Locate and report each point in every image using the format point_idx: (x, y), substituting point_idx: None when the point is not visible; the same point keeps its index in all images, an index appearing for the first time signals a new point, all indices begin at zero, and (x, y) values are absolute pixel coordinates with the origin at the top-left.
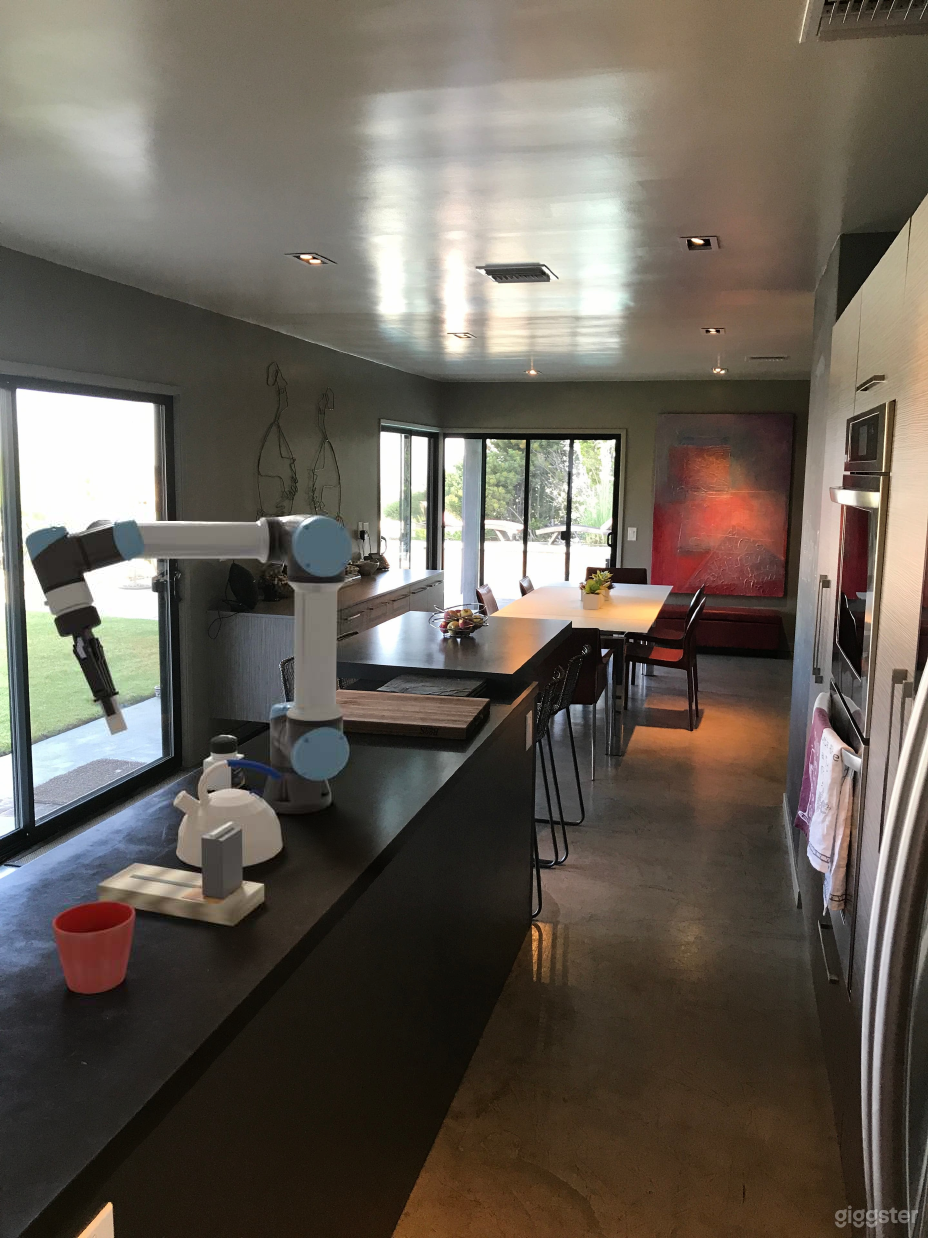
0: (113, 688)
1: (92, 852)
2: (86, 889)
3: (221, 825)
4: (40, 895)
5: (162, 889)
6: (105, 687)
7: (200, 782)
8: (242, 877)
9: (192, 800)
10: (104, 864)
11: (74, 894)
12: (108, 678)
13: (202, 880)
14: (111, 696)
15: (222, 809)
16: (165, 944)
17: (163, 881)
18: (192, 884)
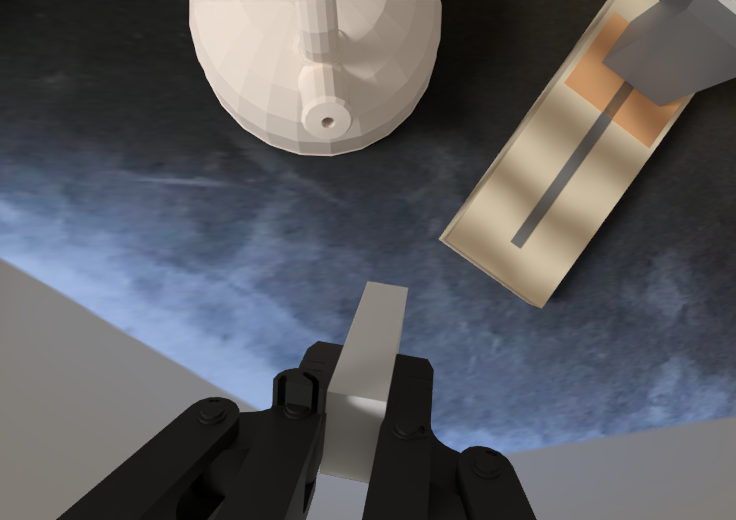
0: (236, 423)
1: (269, 333)
2: (464, 329)
3: (689, 8)
4: (469, 409)
5: (599, 183)
6: (518, 495)
7: (328, 39)
8: (639, 15)
9: (339, 83)
10: (344, 304)
11: (481, 348)
12: (253, 507)
13: (680, 97)
14: (417, 417)
15: (392, 6)
16: (728, 183)
17: (564, 181)
18: (595, 123)
